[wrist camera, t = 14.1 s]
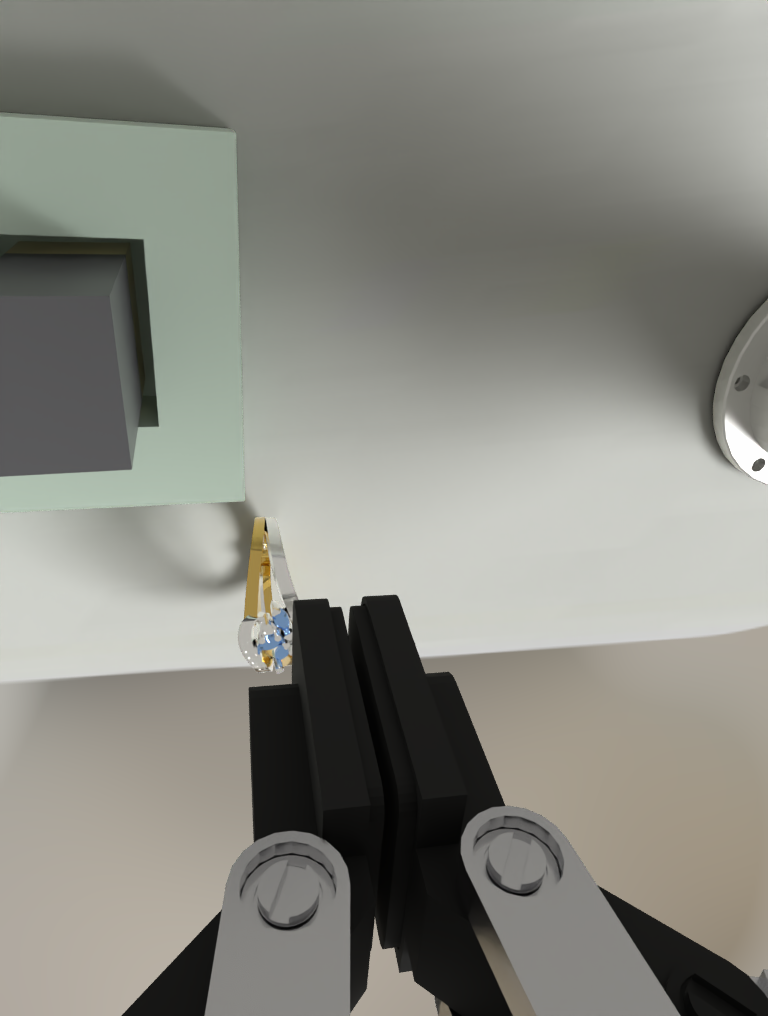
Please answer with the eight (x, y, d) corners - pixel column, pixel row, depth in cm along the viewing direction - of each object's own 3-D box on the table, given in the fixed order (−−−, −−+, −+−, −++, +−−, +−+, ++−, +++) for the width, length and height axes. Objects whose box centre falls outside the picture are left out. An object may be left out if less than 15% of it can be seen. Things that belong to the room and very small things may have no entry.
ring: (230, 488, 35) (240, 582, 28) (297, 488, 36) (322, 579, 29) (228, 606, 38) (236, 716, 31) (289, 604, 39) (310, 710, 32)
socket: (230, 128, 28) (237, 133, 24) (239, 461, 34) (246, 510, 30) (-266, 93, 24) (-358, 92, 20) (-148, 474, 31) (-199, 532, 27)
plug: (130, 242, 28) (109, 295, 21) (145, 378, 31) (131, 469, 23) (18, 241, 28) (-46, 296, 20) (44, 380, 30) (-4, 476, 23)
